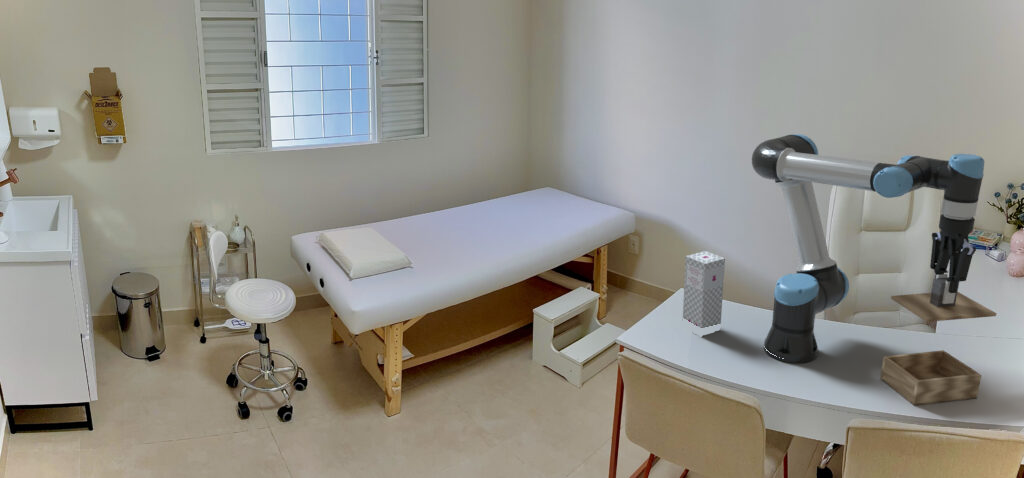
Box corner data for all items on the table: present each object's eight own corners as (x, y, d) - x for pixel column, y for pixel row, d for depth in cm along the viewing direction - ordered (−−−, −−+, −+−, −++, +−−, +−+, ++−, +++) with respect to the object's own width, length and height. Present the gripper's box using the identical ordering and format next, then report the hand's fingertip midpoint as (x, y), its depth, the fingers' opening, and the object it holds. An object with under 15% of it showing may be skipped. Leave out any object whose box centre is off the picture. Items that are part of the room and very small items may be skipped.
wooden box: (914, 405, 186) (918, 382, 184) (880, 378, 199) (883, 356, 197) (976, 398, 188) (981, 374, 186) (939, 372, 201) (943, 350, 199)
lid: (926, 324, 182) (931, 293, 179) (890, 300, 196) (894, 272, 193) (995, 318, 184) (1001, 288, 181) (955, 295, 198) (960, 267, 195)
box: (682, 327, 234) (685, 256, 226) (701, 321, 238) (705, 250, 230) (700, 337, 227) (705, 263, 219) (720, 330, 231) (725, 258, 223)
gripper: (995, 223, 174) (978, 311, 182) (949, 205, 189) (935, 287, 197) (966, 225, 174) (950, 313, 181) (923, 207, 189) (910, 289, 196)
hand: (942, 299), depth 189 cm, fingers closed on lid, 3 cm apart
